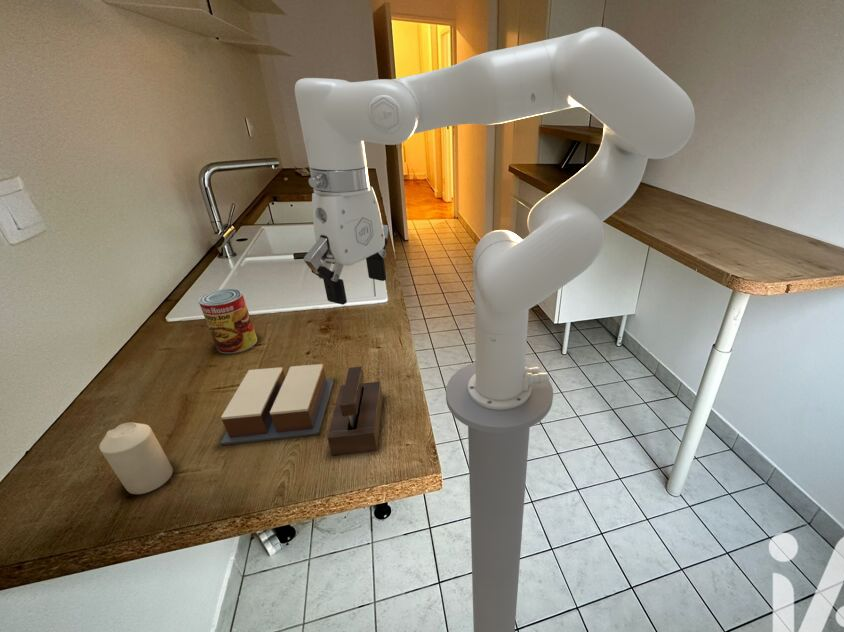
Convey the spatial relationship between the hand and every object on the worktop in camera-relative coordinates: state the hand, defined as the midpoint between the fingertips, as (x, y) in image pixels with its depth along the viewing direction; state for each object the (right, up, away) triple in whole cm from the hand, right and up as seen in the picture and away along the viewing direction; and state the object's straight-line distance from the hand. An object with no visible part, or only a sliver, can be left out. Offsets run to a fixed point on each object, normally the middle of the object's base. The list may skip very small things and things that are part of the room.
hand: (358, 290), depth 66 cm
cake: (-17, -21, +9) cm, 29 cm away
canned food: (-38, -10, +27) cm, 47 cm away
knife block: (-2, -23, +6) cm, 24 cm away
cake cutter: (-2, -23, +6) cm, 24 cm away
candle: (-29, -29, -5) cm, 41 cm away
